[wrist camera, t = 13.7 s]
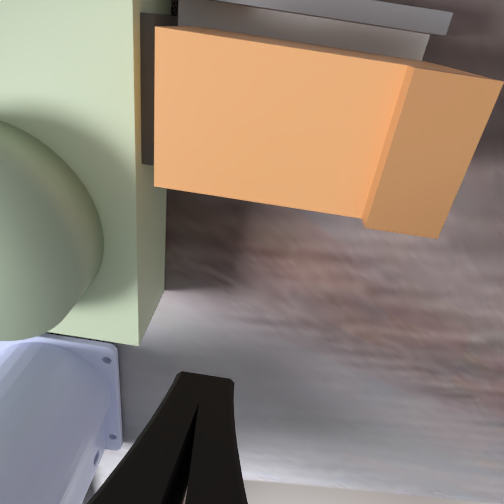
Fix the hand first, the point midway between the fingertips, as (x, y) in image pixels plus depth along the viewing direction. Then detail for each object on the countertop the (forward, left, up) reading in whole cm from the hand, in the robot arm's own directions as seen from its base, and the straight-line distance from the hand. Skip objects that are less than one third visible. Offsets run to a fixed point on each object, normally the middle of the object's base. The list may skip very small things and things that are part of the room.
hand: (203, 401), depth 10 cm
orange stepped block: (+6, -2, -9) cm, 11 cm away
